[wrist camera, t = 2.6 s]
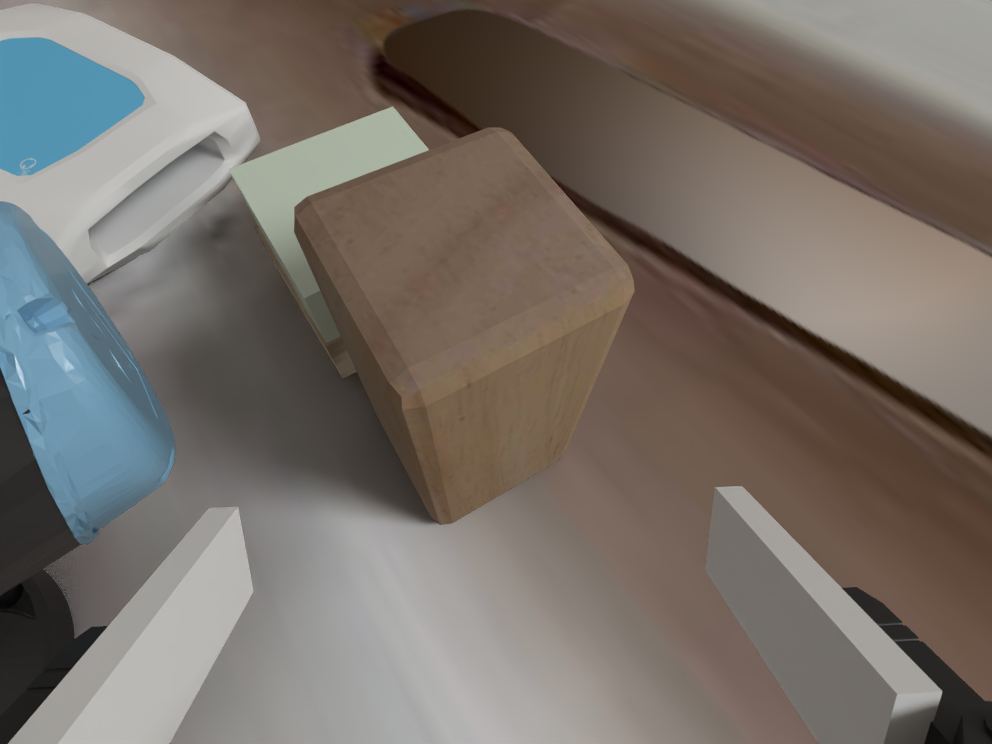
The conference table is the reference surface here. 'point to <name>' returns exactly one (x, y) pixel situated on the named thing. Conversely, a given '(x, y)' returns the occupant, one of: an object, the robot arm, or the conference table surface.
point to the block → (467, 310)
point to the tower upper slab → (318, 189)
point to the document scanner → (108, 135)
